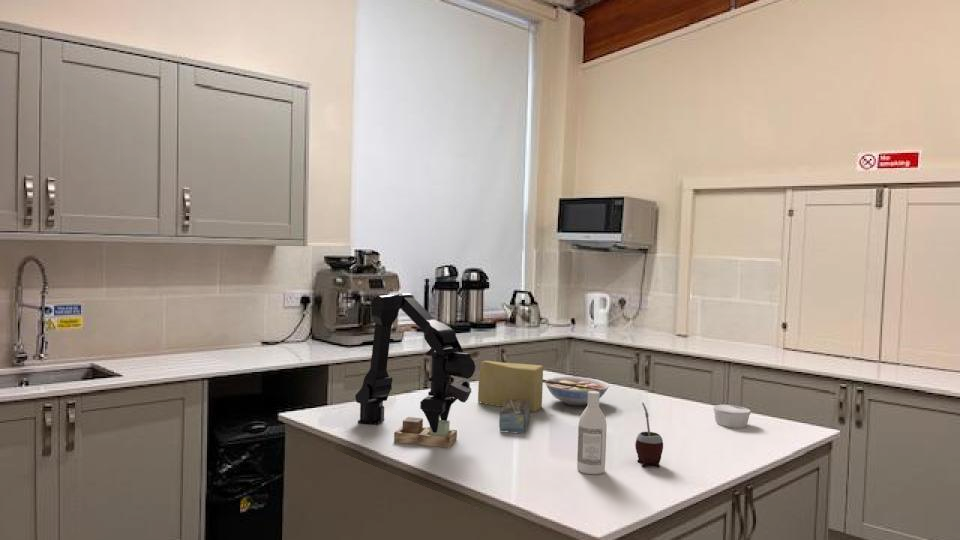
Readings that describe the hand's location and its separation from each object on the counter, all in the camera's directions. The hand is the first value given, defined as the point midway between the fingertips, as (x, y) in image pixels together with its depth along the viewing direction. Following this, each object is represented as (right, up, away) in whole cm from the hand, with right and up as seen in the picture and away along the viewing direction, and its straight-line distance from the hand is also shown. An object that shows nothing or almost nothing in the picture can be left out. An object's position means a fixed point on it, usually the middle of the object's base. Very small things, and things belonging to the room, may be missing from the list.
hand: (439, 428), depth 195 cm
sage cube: (0, -3, 0) cm, 3 cm away
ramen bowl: (+45, -3, +51) cm, 69 cm away
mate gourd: (+55, -7, -13) cm, 57 cm away
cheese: (+21, -3, +45) cm, 49 cm away
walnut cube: (-8, -3, +2) cm, 8 cm away
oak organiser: (-4, -4, +1) cm, 6 cm away
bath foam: (+39, -6, -20) cm, 45 cm away
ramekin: (+93, -6, +29) cm, 97 cm away
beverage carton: (+22, -4, +21) cm, 31 cm away
